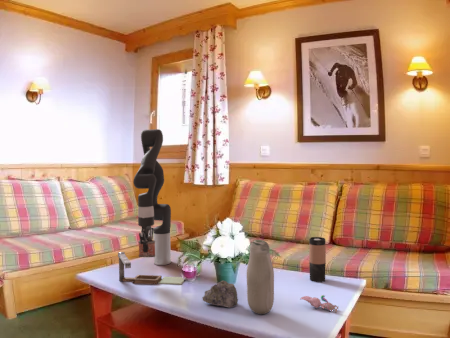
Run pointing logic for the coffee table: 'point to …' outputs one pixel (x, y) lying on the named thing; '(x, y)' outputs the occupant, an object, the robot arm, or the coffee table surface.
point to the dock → (138, 276)
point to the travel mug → (317, 259)
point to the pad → (172, 280)
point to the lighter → (150, 248)
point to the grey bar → (124, 259)
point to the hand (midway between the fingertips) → (147, 250)
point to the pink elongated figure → (316, 302)
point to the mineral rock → (221, 295)
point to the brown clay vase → (260, 278)
